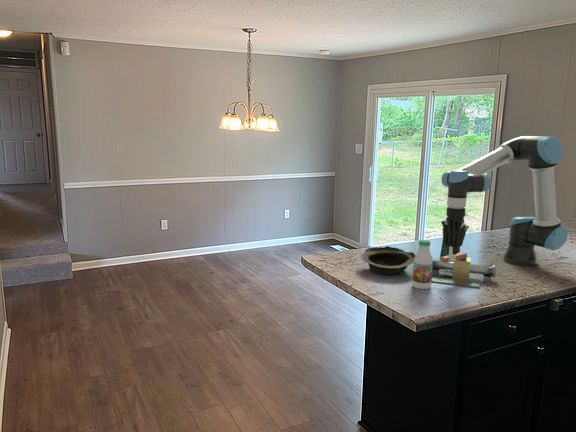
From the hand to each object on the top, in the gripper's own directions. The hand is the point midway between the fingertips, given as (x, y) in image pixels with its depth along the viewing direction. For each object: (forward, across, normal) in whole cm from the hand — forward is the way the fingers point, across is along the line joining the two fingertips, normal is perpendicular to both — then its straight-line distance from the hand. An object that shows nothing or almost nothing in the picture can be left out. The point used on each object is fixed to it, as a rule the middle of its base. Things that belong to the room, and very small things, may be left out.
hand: (451, 260), depth 201 cm
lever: (+1, +3, -5) cm, 5 cm away
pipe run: (+10, +4, -8) cm, 13 cm away
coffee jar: (+10, +25, -28) cm, 39 cm away
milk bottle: (+10, +2, +15) cm, 18 cm away
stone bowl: (+10, +25, +14) cm, 30 cm away
